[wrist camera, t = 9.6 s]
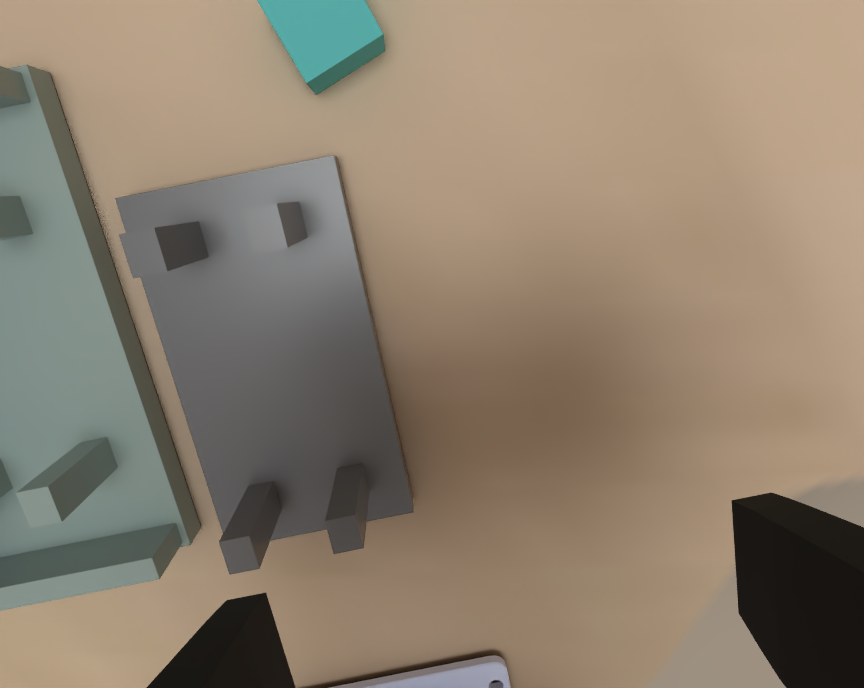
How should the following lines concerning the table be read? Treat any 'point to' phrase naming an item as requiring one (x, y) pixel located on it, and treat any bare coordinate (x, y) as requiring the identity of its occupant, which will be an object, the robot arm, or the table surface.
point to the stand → (272, 353)
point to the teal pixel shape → (325, 36)
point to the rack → (72, 381)
